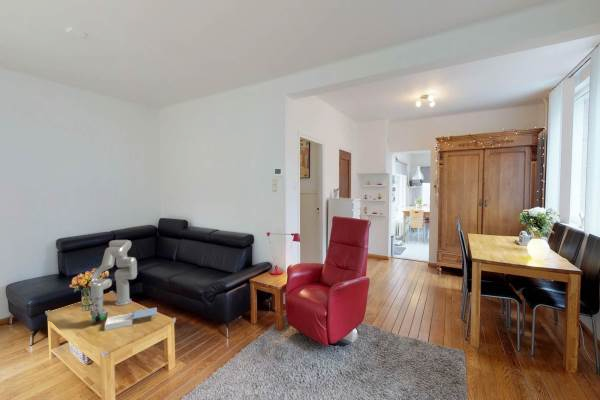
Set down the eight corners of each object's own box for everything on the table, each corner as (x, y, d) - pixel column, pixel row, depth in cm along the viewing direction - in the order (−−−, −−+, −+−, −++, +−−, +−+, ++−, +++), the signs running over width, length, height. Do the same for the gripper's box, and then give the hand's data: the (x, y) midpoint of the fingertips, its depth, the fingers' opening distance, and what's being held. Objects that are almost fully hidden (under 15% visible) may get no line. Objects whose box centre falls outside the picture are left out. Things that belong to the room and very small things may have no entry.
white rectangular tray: (107, 323, 215) (107, 317, 215) (133, 318, 223) (133, 312, 222) (104, 330, 204) (104, 325, 204) (132, 325, 212) (131, 319, 211)
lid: (132, 312, 222) (132, 309, 222) (156, 308, 230) (156, 305, 230) (131, 319, 211) (131, 316, 211) (156, 314, 219) (156, 311, 219)
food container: (87, 326, 210) (86, 314, 209) (91, 322, 216) (90, 310, 215) (106, 324, 213) (105, 312, 212) (109, 320, 219) (108, 308, 218)
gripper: (101, 301, 207) (102, 324, 209) (105, 293, 223) (106, 314, 224) (89, 303, 204) (90, 326, 205) (94, 294, 219) (95, 316, 221)
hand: (98, 320), depth 215 cm, fingers closed on food container, 5 cm apart
